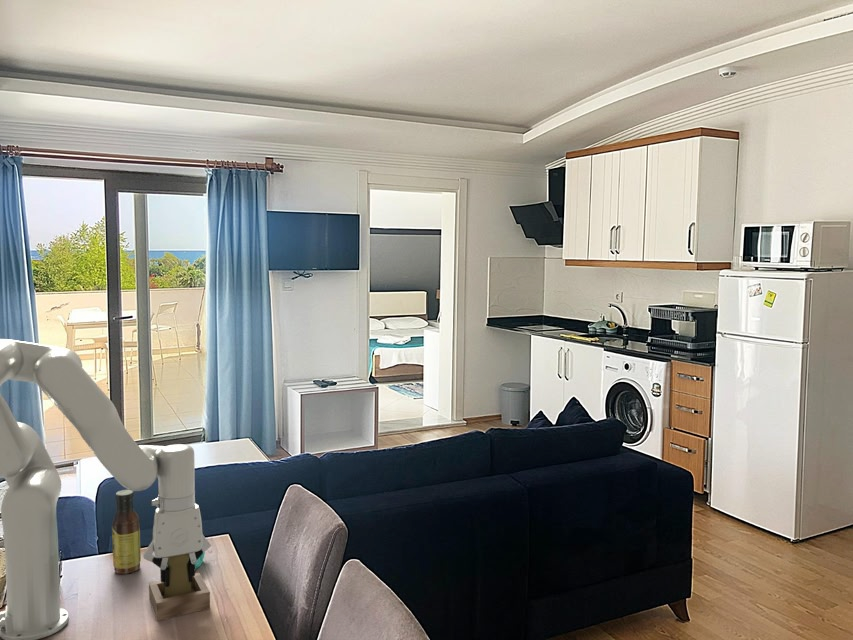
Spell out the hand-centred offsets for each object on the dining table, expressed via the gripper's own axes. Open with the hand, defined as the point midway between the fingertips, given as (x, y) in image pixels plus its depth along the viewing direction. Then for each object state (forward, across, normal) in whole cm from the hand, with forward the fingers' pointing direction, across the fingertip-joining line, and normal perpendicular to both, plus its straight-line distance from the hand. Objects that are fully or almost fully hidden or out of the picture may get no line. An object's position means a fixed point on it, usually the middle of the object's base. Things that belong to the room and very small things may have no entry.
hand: (177, 581), depth 154 cm
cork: (+4, 0, 0) cm, 4 cm away
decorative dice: (+5, +5, +20) cm, 21 cm away
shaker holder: (+5, 0, 0) cm, 5 cm away
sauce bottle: (+6, -8, +24) cm, 26 cm away
